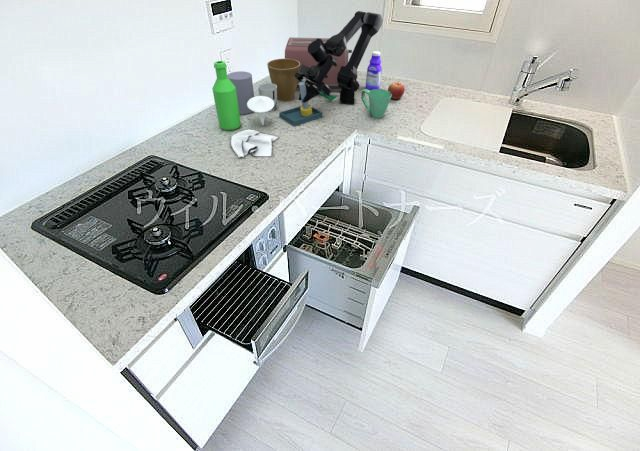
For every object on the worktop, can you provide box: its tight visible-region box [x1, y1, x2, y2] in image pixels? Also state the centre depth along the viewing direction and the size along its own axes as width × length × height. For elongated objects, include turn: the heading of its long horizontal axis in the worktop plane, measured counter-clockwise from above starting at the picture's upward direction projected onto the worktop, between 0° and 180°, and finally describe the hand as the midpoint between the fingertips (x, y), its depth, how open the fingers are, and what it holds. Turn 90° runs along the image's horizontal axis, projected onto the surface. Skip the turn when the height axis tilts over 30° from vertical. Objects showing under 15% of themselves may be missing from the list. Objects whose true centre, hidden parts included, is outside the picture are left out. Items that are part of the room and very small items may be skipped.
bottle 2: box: [365, 50, 383, 91], centre depth 169 cm, size 7×6×17 cm
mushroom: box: [247, 95, 274, 127], centre depth 137 cm, size 10×11×12 cm
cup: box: [257, 82, 278, 112], centre depth 150 cm, size 8×8×10 cm
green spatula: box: [318, 91, 339, 102], centre depth 162 cm, size 21×2×5 cm, turn 41°
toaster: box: [284, 36, 353, 93], centre depth 171 cm, size 19×34×20 cm, turn 89°
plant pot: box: [266, 58, 300, 102], centre depth 158 cm, size 15×15×16 cm
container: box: [227, 70, 255, 115], centre depth 147 cm, size 10×10×15 cm
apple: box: [387, 81, 406, 100], centre depth 163 cm, size 8×8×8 cm
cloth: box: [230, 129, 279, 159], centre depth 127 cm, size 20×22×2 cm
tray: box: [278, 105, 323, 127], centre depth 147 cm, size 15×11×2 cm
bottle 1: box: [212, 60, 242, 131], centre depth 131 cm, size 9×9×25 cm
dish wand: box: [299, 82, 312, 117], centre depth 142 cm, size 5×5×14 cm
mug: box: [360, 88, 392, 119], centre depth 148 cm, size 15×10×10 cm
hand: (301, 101), depth 142 cm, fingers closed on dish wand, 2 cm apart
